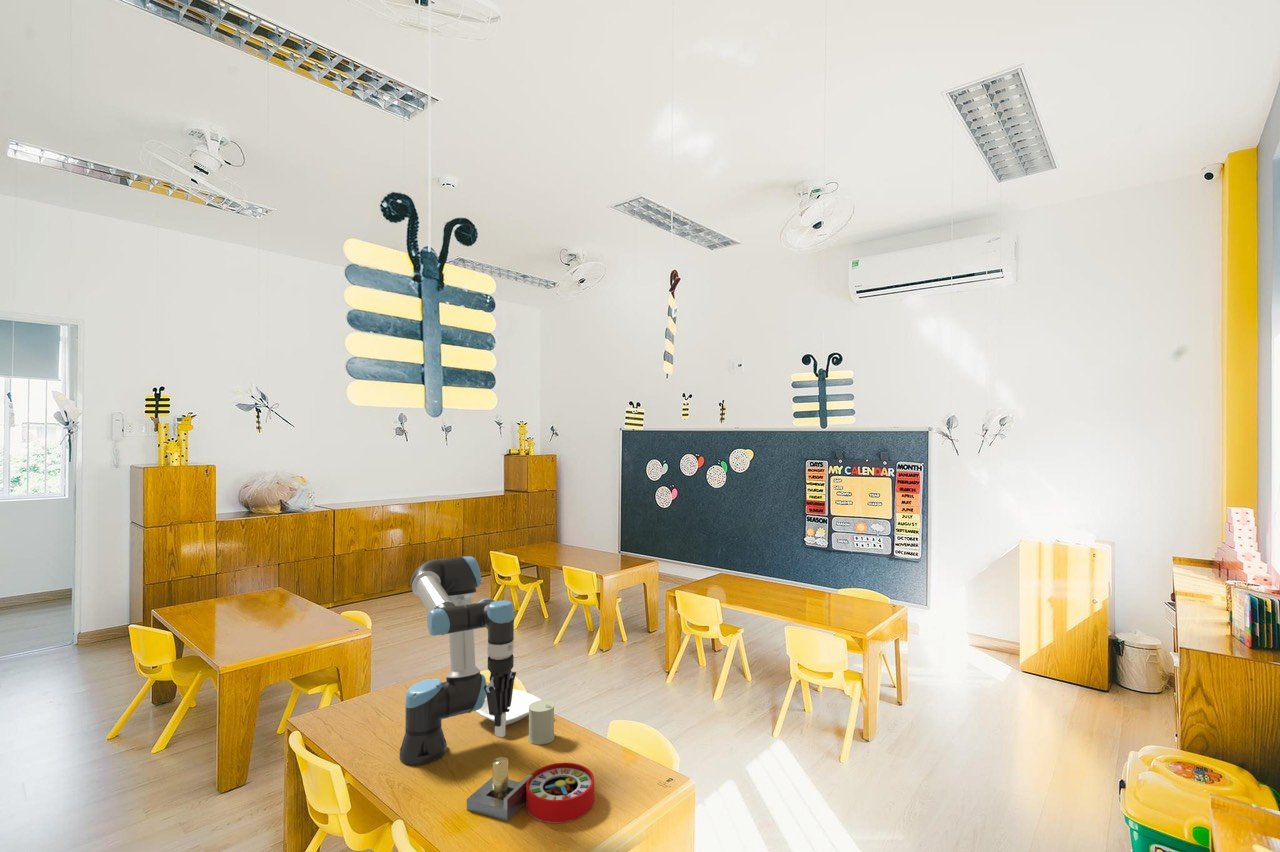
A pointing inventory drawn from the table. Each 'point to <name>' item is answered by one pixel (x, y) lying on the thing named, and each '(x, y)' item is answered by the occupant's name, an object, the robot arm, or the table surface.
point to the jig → (498, 800)
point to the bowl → (512, 707)
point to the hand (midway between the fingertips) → (500, 735)
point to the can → (541, 722)
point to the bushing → (500, 778)
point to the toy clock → (560, 792)
